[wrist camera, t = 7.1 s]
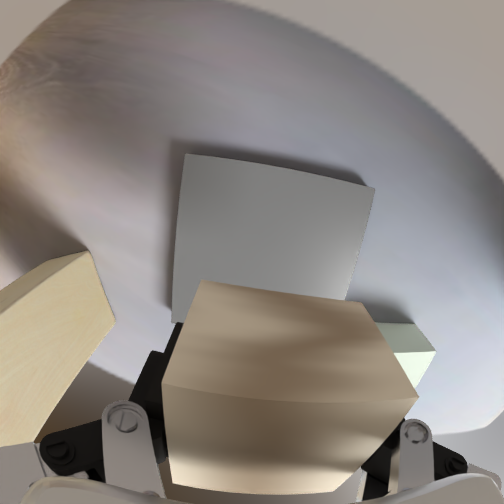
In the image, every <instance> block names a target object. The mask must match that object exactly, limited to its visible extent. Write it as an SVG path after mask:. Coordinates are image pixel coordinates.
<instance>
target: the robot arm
mask: <svg viewBox="0 0 504 504" xmlns="http://www.w3.org/2000/svg"><path fill="white" fill-rule="evenodd" d="M183 324H184V323H181V322H177V323H176V325H175V327H174V330H173V332H172V334H171V337H170V339H169V342H168V344H167V346H166V349H165V351H164V353H162V352H157V351H153V350H152V351H151V353H150V354H149V356H148V358H147V361H146V363H145V365H144V367H143V369H142V371H141V374H140V376H139V378H138V380H137V382H136V385H135V387H134V389H133V391H132V394H131V396H130V398H129V400H128V401H116V402H114V403H111V404H110V405H108V406H107V407H106V408H105V410H104V411H103V414H102V419H100V420H97V421H93V422H90V423H87V424H83V425H80V426H76V427H73V428H69V429H65V430H62V431H58V432H54V433H51V434H48V435H46V436H45V437H44V438H43V439H42V441H41V442H40V443H38V444H34V442H28V443H22V444H17V445H10V446H3V447H0V504H191V503H186V502H180V501H174V500H170V499H166V496H165V492H164V488H163V485H162V481H161V477H160V472H159V468H158V464H159V463H162V462H164V461H165V459H166V457H169V455H168V447H167V439H166V431H165V421H164V410H163V398H162V384H161V383H162V380H163V377H164V374H165V372H166V369H167V366H168V364H169V361H170V358H171V356H172V353H173V350H174V348H175V345H176V342H177V340H178V337H179V335H180V332H181V329H182V327H183ZM361 469H362V473H361V479H360V484H359V489H358V494H357V498H356V503H350V504H504V498H503V495H502V494H501V492H500V490H501V480H500V478H499V476H498V475H496V474H495V473H492V472H489V471H487V470H484V469H482V468H479V467H477V466H474V465H472V464H468V465H467V462H466V460H465V459H464V457H463V456H461V455H460V454H458V453H456V452H454V451H452V450H450V449H448V448H446V447H443V446H441V445H439V444H437V443H435V442H433V441H432V433H431V430H430V428H429V427H428V426H427V425H426V424H425V423H424V422H422V421H421V420H418V419H409V420H406V421H405V418H403V419H402V421H401V422H400V423H399V424H398V426H397V427H396V428H395V429H394V430H393V432H392V433H391V434H390V435H389V436H388V437H387V439H386V440H385V441H384V442H383V443H382V444H381V445H380V446H379V448H378V449H377V450H376V451H375V452H374V453H373V454H372V455H371V456H370V457H369V458H368V459H367V460H366V461H365V462H364V463H363V464H362V465H361Z"/></svg>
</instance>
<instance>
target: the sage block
mask: <svg viewBox="0 0 504 504" xmlns="http://www.w3.org/2000/svg"><path fill="white" fill-rule="evenodd" d="M375 324H376V326H377V327H378V329H379V330H380V332H381V333H382V335H383V337H384V338H385V340H386V341H387V343H388V345H389V346H390V348H391V350H392V351H393V353H394V355H395V356H396V358H397V360H398V361H399V363H400V365H401V366H402V368H403V370H404V371H405V373H406V375H407V377H408V378H409V380H410V382H411V384H412V385H413V387H414V389H415V387H416V386H417V384H418V383H419V381H420V379H421V378H422V376H423V374H424V373H425V371H426V369H427V367H428V366H429V364H430V362H431V360H432V359H433V357H434V355H435V353H436V350H435V349H434V347H433V346H432V345H431V343H430V342H429V341H428V339H427V338H426V337H425V336H424V334H423V333H422V332H421V331H420V329H419V328H418V327H417V326H416V324H402V323H377V322H375Z"/></svg>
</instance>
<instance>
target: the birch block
mask: <svg viewBox="0 0 504 504" xmlns="http://www.w3.org/2000/svg"><path fill="white" fill-rule="evenodd" d="M161 384H162V398H163V410H164V421H165V431H166V439H167V447H168V455H169V462H170V467H171V475H172V481H173V483H175V484H180V485H186V486H191V487H196V488H202V489H210V490H217V491H226V492H235V493H236V492H237V493H249V494H306V493H321V492H331V491H334V490H335V489H336V488H338V487H339V486H340V485H341V484H342V483H343V482H344V481H346V480H347V479H348V478H349V477H350V476H351V475H352V474H353V473H354V472H355V471H356V470H357V469H358V468H359V467H360V466H361V465H362V464H363V463H364V462H365V461H366V460H367V459H368V458H369V457H370V456H371V455H372V454H373V453H374V452H375V451H376V450H377V449H378V448H379V446H380V445H381V444H382V443H383V442H384V441H385V440H386V439H387V437H388V436H389V435H390V434H391V433H392V432H393V430H394V429H395V428H396V427H397V426H398V424H399V423H400V422H401V421H402V419H403V418H404V417H405V415H406V414H407V413H408V412H409V410H410V409H411V408H412V406H413V405H414V403H415V402H416V401H417V399H418V398H419V396H418V394H417V392H416V391H415V389H414V387H413V385H412V384H411V382H410V380H409V378H408V377H407V375H406V373H405V371H404V370H403V368H402V366H401V365H400V363H399V361H398V360H397V358H396V356H395V355H394V353H393V351H392V350H391V348H390V346H389V345H388V343H387V341H386V340H385V338H384V337H383V335H382V333H381V332H380V330H379V329H378V327H377V326H376V324H375V322H374V321H373V319H372V318H371V316H370V315H369V313H368V312H367V310H366V308H365V307H364V305H363V304H362V302H353V301H345V300H337V299H329V298H321V297H313V296H306V295H299V294H292V293H284V292H278V291H271V290H264V289H257V288H251V287H244V286H238V285H232V284H226V283H220V282H214V281H208V280H202V279H201V282H200V284H199V287H198V289H197V292H196V294H195V297H194V299H193V302H192V304H191V307H190V309H189V312H188V314H187V317H186V319H185V322H184V324H183V327H182V329H181V332H180V335H179V337H178V340H177V342H176V345H175V348H174V350H173V353H172V356H171V358H170V361H169V364H168V366H167V369H166V372H165V374H164V377H163V380H162V383H161Z"/></svg>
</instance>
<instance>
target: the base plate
mask: <svg viewBox="0 0 504 504" xmlns="http://www.w3.org/2000/svg"><path fill="white" fill-rule="evenodd" d="M374 192H375V189H374V188H371V187H367V186H364V185H360V184H356V183H352V182H348V181H344V180H340V179H335V178H331V177H327V176H322V175H318V174H313V173H308V172H304V171H299V170H294V169H289V168H283V167H278V166H273V165H267V164H261V163H255V162H249V161H242V160H236V159H229V158H221V157H214V156H206V155H197V154H185V158H184V165H183V172H182V180H181V189H180V197H179V207H178V217H177V228H176V239H175V253H174V268H173V288H172V319H171V323H175V324H176V323H177V322H181V323H184V322H185V319H186V317H187V314H188V312H189V309H190V307H191V304H192V302H193V299H194V297H195V294H196V292H197V289H198V287H199V284H200V282H201V279H202V280H208V281H214V282H220V283H226V284H232V285H238V286H244V287H251V288H257V289H264V290H271V291H278V292H284V293H292V294H299V295H306V296H313V297H321V298H329V299H337V300H345V297H346V294H347V291H348V288H349V285H350V282H351V278H352V275H353V272H354V269H355V265H356V262H357V259H358V255H359V252H360V248H361V244H362V241H363V237H364V233H365V230H366V226H367V222H368V218H369V214H370V210H371V205H372V201H373V197H374Z"/></svg>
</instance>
